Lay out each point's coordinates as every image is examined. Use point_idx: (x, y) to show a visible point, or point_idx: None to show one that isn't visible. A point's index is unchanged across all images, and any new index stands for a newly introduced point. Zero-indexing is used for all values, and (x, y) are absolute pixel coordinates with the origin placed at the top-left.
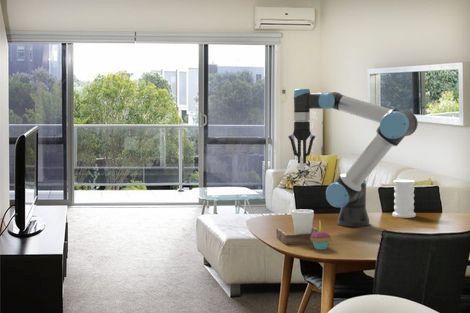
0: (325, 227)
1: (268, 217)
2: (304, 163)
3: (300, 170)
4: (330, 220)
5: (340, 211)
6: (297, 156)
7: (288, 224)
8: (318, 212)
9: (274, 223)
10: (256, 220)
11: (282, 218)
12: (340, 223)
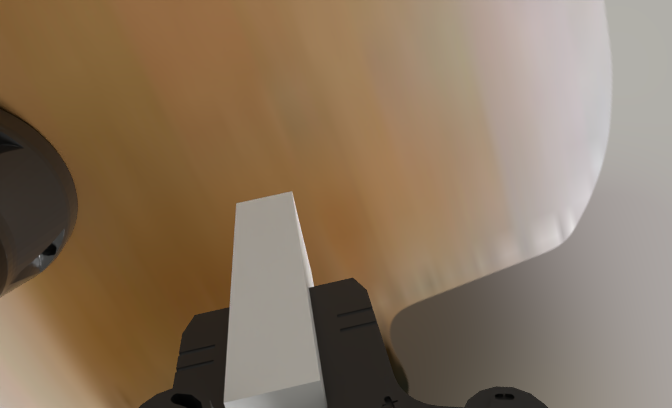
0: (70, 11)
1: (524, 188)
2: (214, 311)
3: (284, 193)
4: (162, 241)
5: (8, 195)
6: (413, 400)
7: (348, 22)
8: None
9: (445, 21)
10: (574, 76)
11: (441, 191)
12: (10, 119)
